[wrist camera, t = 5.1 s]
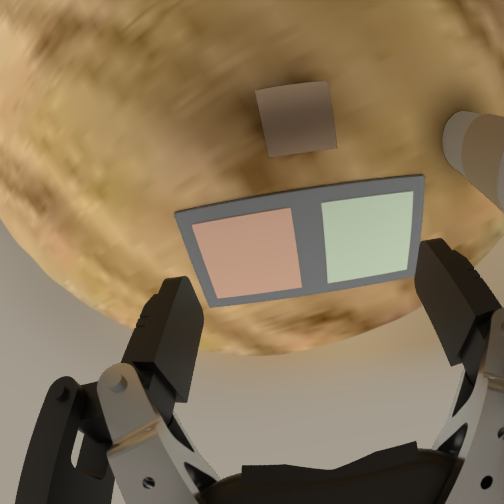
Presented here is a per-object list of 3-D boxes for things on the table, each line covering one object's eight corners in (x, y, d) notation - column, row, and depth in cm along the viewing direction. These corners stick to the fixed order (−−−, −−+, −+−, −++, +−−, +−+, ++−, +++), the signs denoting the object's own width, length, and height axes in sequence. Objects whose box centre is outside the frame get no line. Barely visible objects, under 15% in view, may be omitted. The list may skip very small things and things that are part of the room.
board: (175, 211, 29) (173, 214, 28) (422, 174, 25) (425, 176, 24) (210, 305, 35) (209, 308, 35) (413, 273, 32) (415, 277, 31)
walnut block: (256, 89, 22) (254, 90, 17) (313, 81, 21) (327, 80, 16) (267, 142, 25) (268, 158, 20) (321, 134, 24) (337, 148, 19)
